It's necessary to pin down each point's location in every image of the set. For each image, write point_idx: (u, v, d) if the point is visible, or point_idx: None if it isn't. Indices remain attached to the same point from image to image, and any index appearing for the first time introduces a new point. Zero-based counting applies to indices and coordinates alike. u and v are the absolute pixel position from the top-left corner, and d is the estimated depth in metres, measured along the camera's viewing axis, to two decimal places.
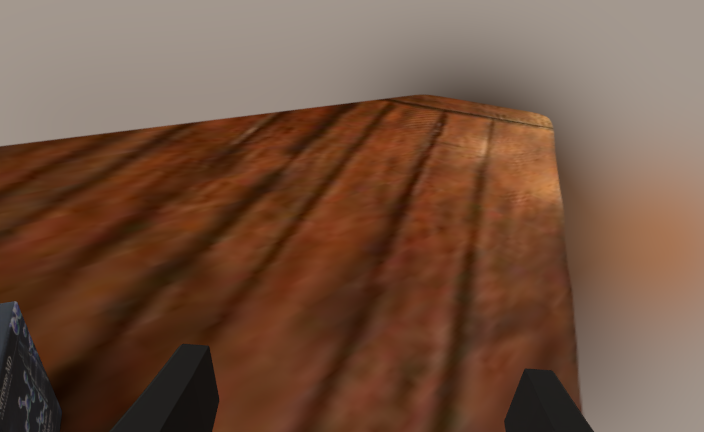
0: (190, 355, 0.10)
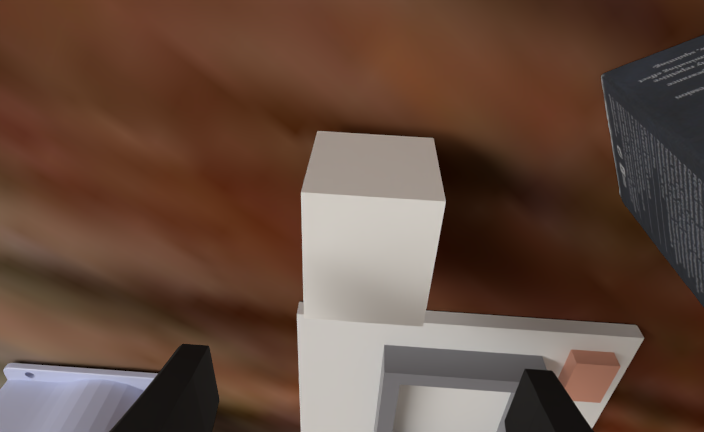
0: (190, 355, 0.10)
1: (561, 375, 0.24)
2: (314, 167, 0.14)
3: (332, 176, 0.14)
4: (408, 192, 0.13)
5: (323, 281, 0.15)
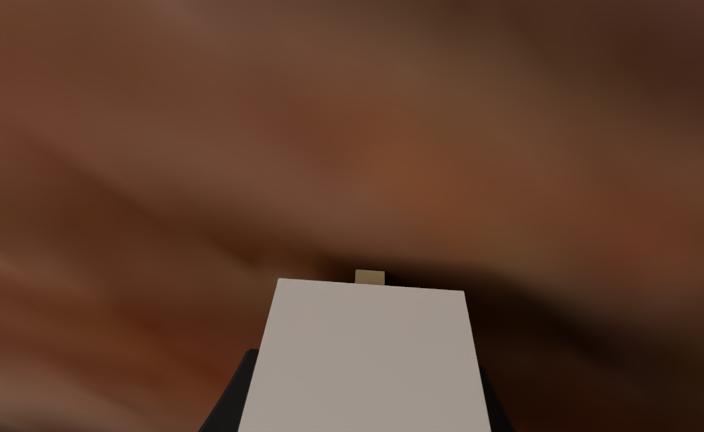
0: None
1: None
2: (263, 379, 0.08)
3: (292, 406, 0.08)
4: None
5: None
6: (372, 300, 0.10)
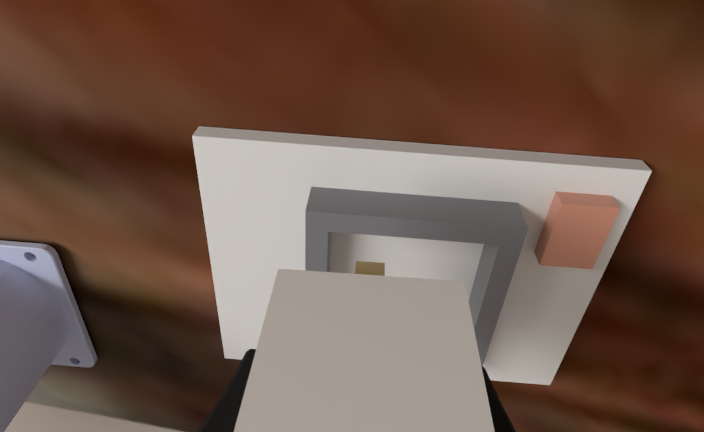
0: None
1: (542, 232, 0.18)
2: (263, 368, 0.08)
3: (292, 394, 0.08)
4: None
5: None
6: (372, 290, 0.10)
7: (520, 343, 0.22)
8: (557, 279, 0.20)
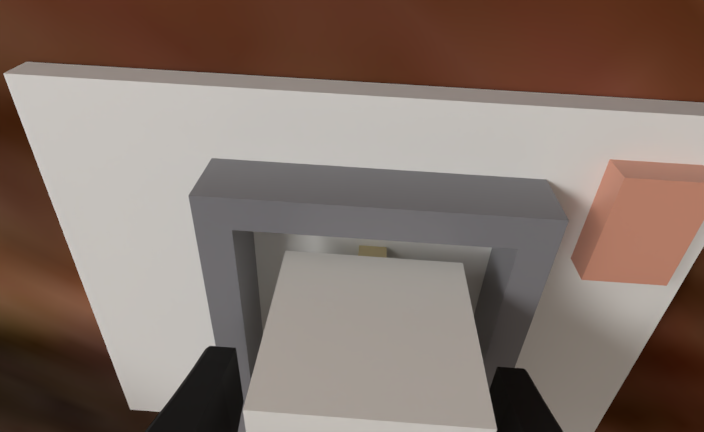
0: (217, 357, 0.10)
1: (586, 228, 0.11)
2: (272, 340, 0.09)
3: (301, 363, 0.08)
4: (430, 405, 0.08)
5: None
6: (375, 270, 0.10)
7: (546, 389, 0.15)
8: (604, 300, 0.13)
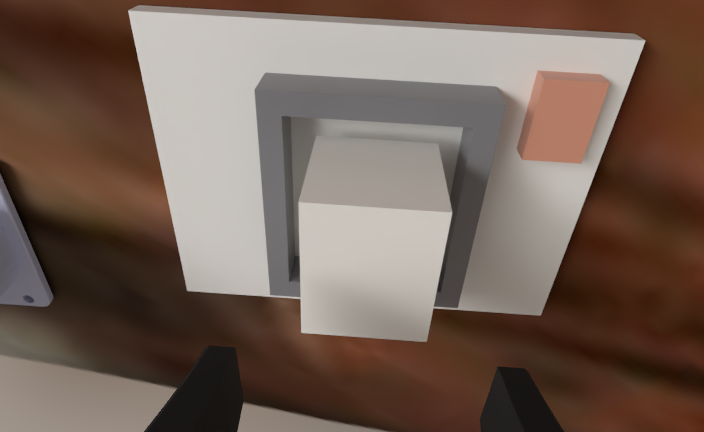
0: (217, 357, 0.10)
1: (525, 123, 0.16)
2: (312, 175, 0.14)
3: (332, 185, 0.13)
4: (412, 203, 0.13)
5: (322, 295, 0.14)
6: (378, 146, 0.15)
7: (506, 264, 0.20)
8: (543, 184, 0.18)
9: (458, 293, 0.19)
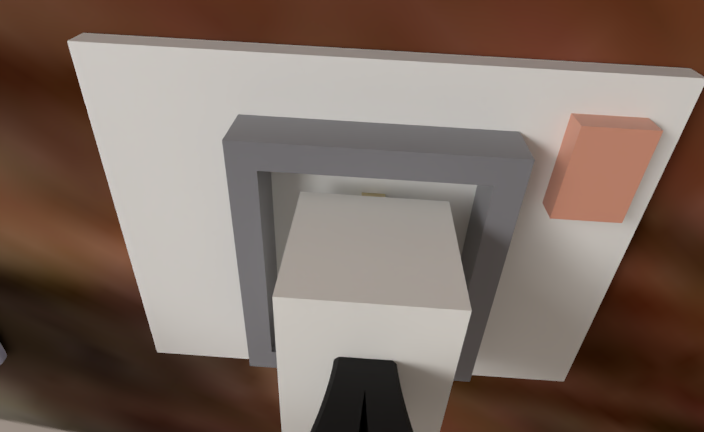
0: (352, 367, 0.10)
1: (554, 174, 0.13)
2: (293, 252, 0.11)
3: (316, 268, 0.10)
4: (420, 295, 0.10)
5: (306, 397, 0.12)
6: (376, 206, 0.13)
7: (525, 327, 0.17)
8: (572, 242, 0.15)
9: (470, 366, 0.16)
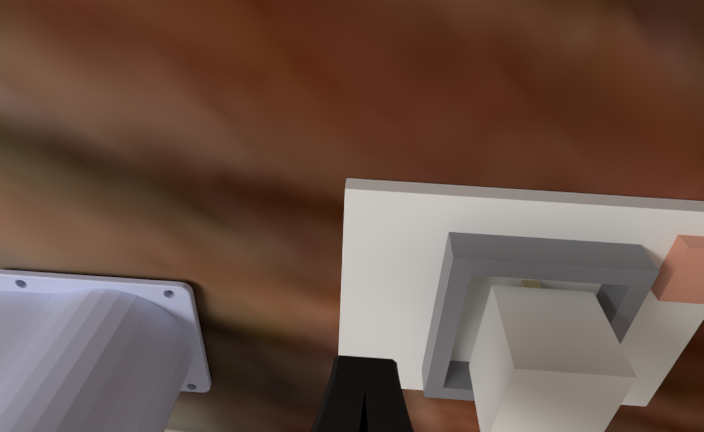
0: (352, 367, 0.10)
1: (661, 271, 0.20)
2: (511, 335, 0.17)
3: (531, 347, 0.17)
4: (602, 367, 0.16)
5: (511, 427, 0.18)
6: (547, 297, 0.19)
7: None
8: (667, 312, 0.21)
9: None
